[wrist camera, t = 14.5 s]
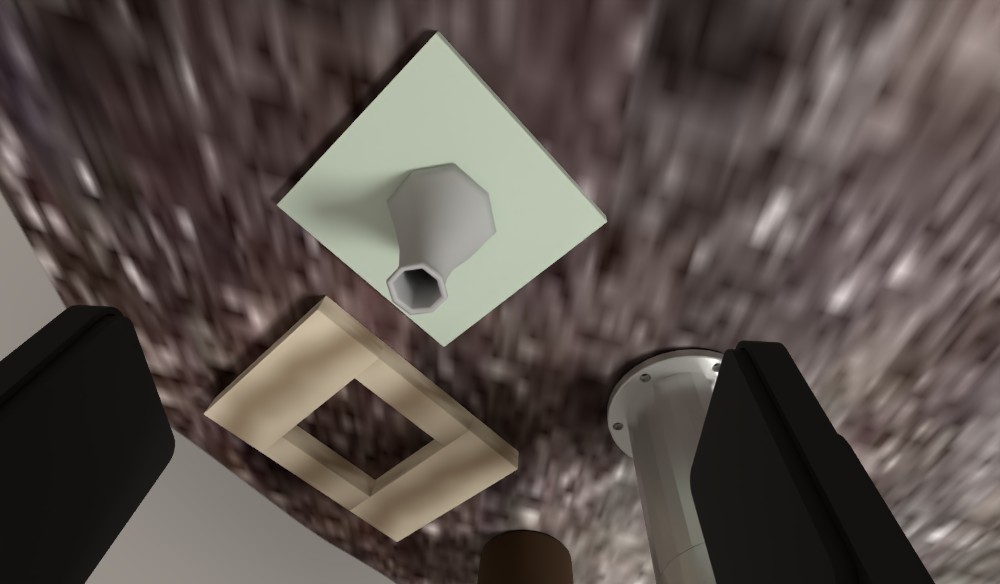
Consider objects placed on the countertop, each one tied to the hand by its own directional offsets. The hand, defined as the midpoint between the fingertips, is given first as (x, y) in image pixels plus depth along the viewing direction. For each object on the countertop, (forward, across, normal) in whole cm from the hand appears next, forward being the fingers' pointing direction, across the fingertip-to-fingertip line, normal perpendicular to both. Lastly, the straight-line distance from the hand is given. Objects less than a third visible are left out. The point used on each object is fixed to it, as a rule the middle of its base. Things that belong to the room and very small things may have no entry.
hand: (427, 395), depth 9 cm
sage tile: (+30, +4, +10) cm, 32 cm away
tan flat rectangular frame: (+30, +11, +31) cm, 45 cm away
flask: (+30, +4, +10) cm, 31 cm away
